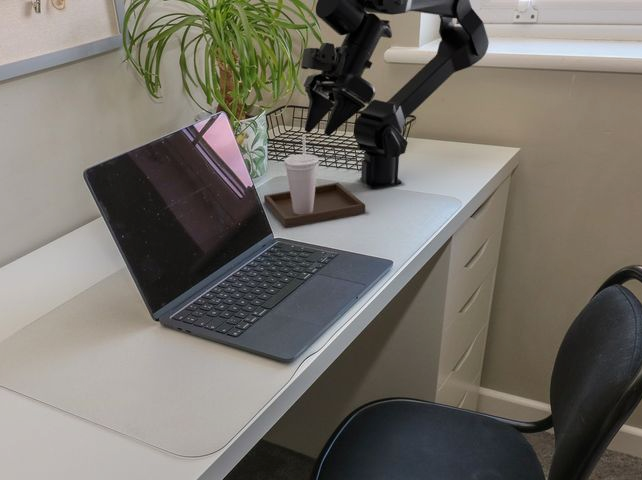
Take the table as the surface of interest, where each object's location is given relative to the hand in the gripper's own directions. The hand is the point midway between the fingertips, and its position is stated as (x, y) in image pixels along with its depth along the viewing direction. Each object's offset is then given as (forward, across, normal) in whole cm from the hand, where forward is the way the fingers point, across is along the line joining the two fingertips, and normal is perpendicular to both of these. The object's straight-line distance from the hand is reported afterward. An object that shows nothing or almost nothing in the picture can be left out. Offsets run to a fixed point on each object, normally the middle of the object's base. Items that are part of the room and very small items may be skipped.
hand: (316, 133), depth 127 cm
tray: (+12, 0, +6) cm, 14 cm away
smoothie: (+14, +2, +4) cm, 14 cm away
